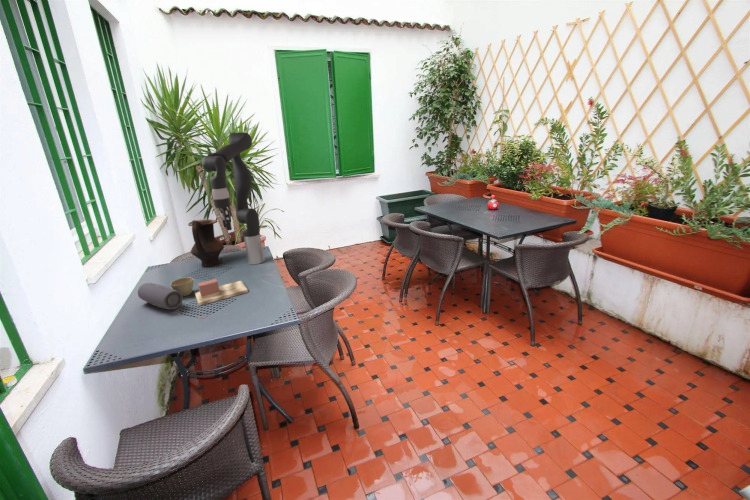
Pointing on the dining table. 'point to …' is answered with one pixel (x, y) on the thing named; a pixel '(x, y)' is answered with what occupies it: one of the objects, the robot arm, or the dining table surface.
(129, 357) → the dining table surface
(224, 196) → the robot arm
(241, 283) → the board
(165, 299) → the bluetooth speaker
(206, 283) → the block
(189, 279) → the flower pot
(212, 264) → the jug
